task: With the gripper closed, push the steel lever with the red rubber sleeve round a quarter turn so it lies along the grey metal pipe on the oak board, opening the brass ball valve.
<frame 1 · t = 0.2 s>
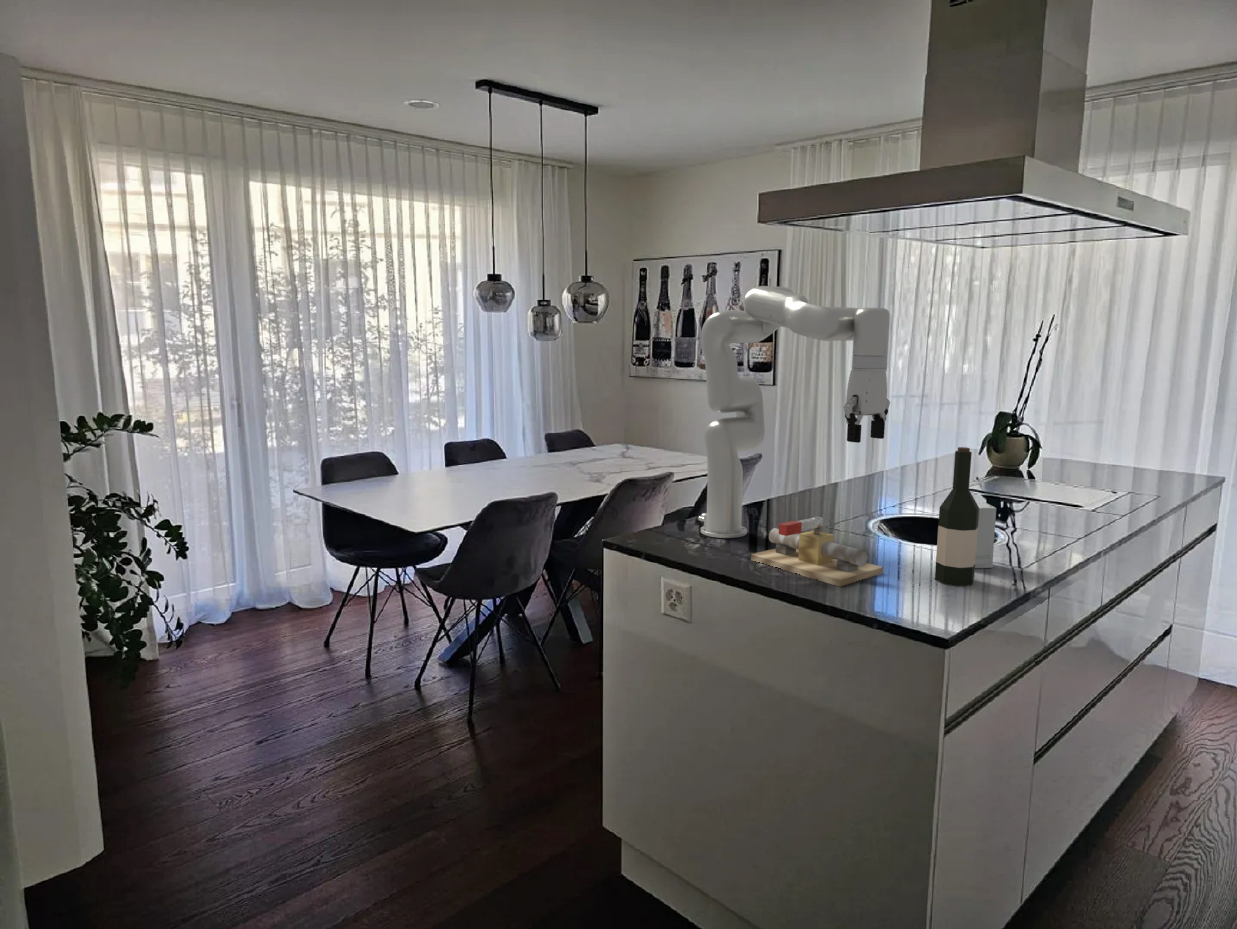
hand: (865, 440, 188), 31 cm above the counter, tool pointing down, fingers open, 9 cm apart
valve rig: (815, 566, 196), on the counter
skincare box: (969, 566, 197), on the counter
wine bottle: (954, 581, 186), on the counter
valve lever: (802, 525, 191), point 11 cm above the counter, hinge at 0.0°
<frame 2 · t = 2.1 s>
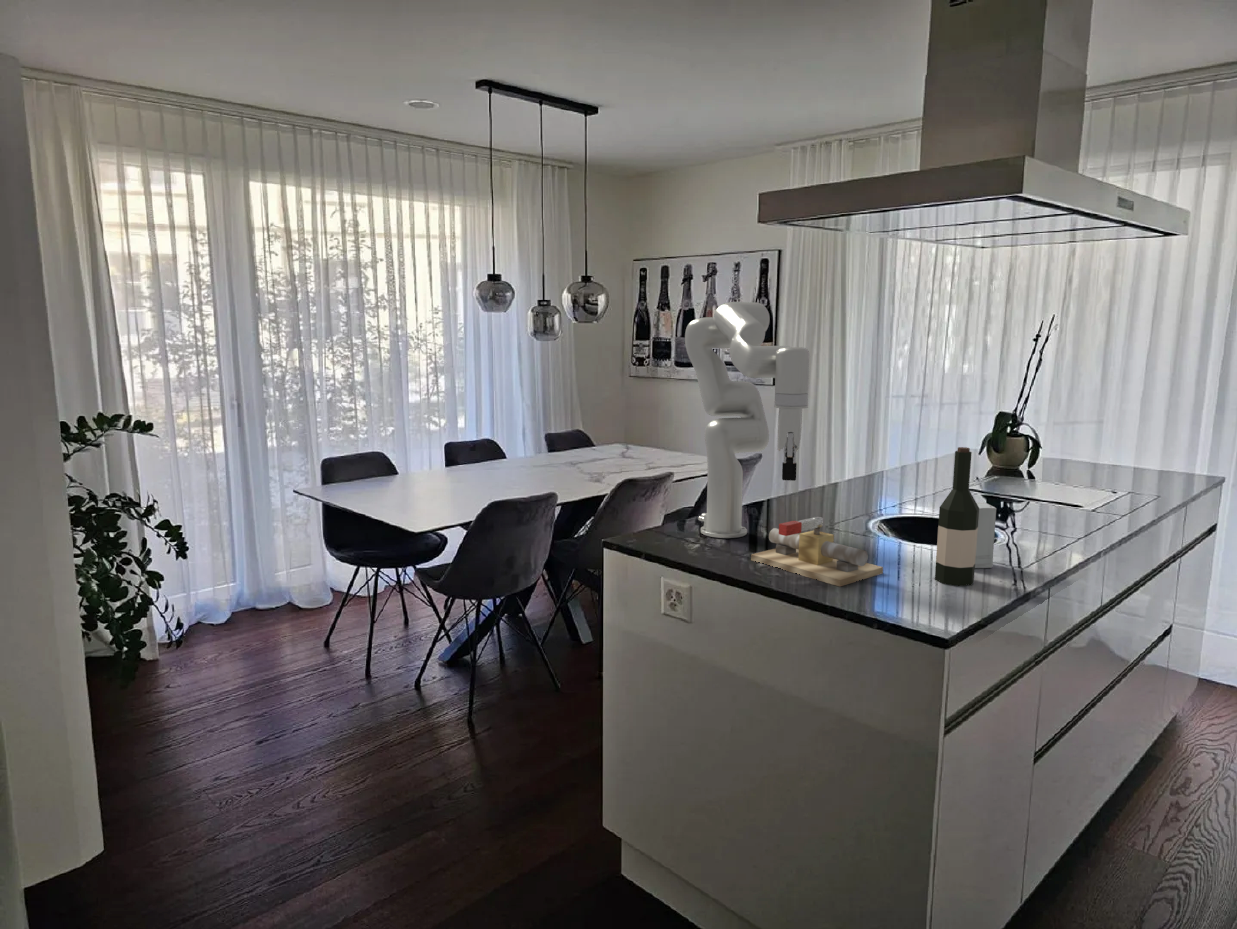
hand: (789, 479, 194), 21 cm above the counter, tool pointing down, fingers closed
nothing on the counter moved.
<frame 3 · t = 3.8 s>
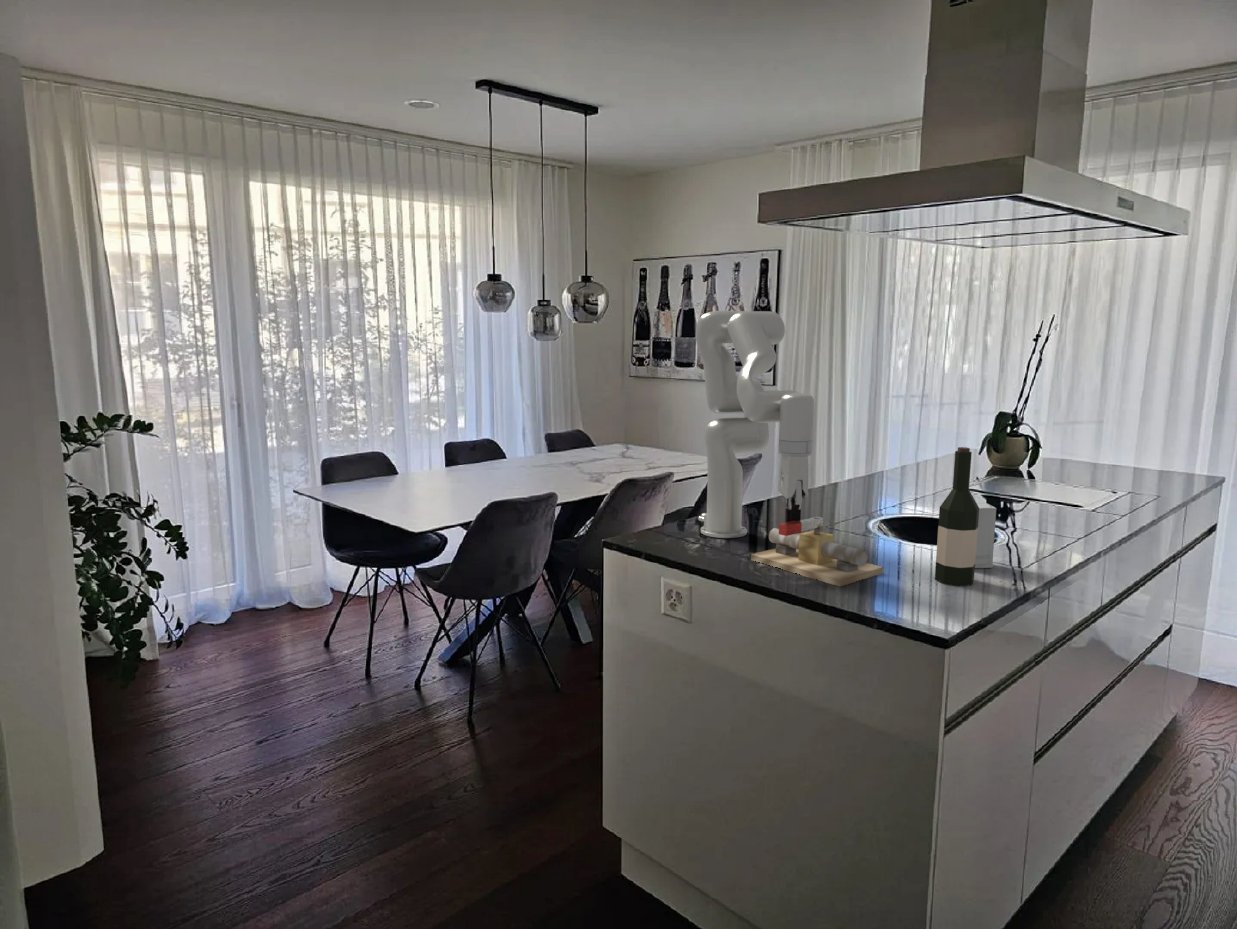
hand: (792, 525, 193), 10 cm above the counter, tool pointing down, fingers closed
valve lever: (802, 525, 191), point 11 cm above the counter, hinge at 0.0°, touching gripper
everything else where it was.
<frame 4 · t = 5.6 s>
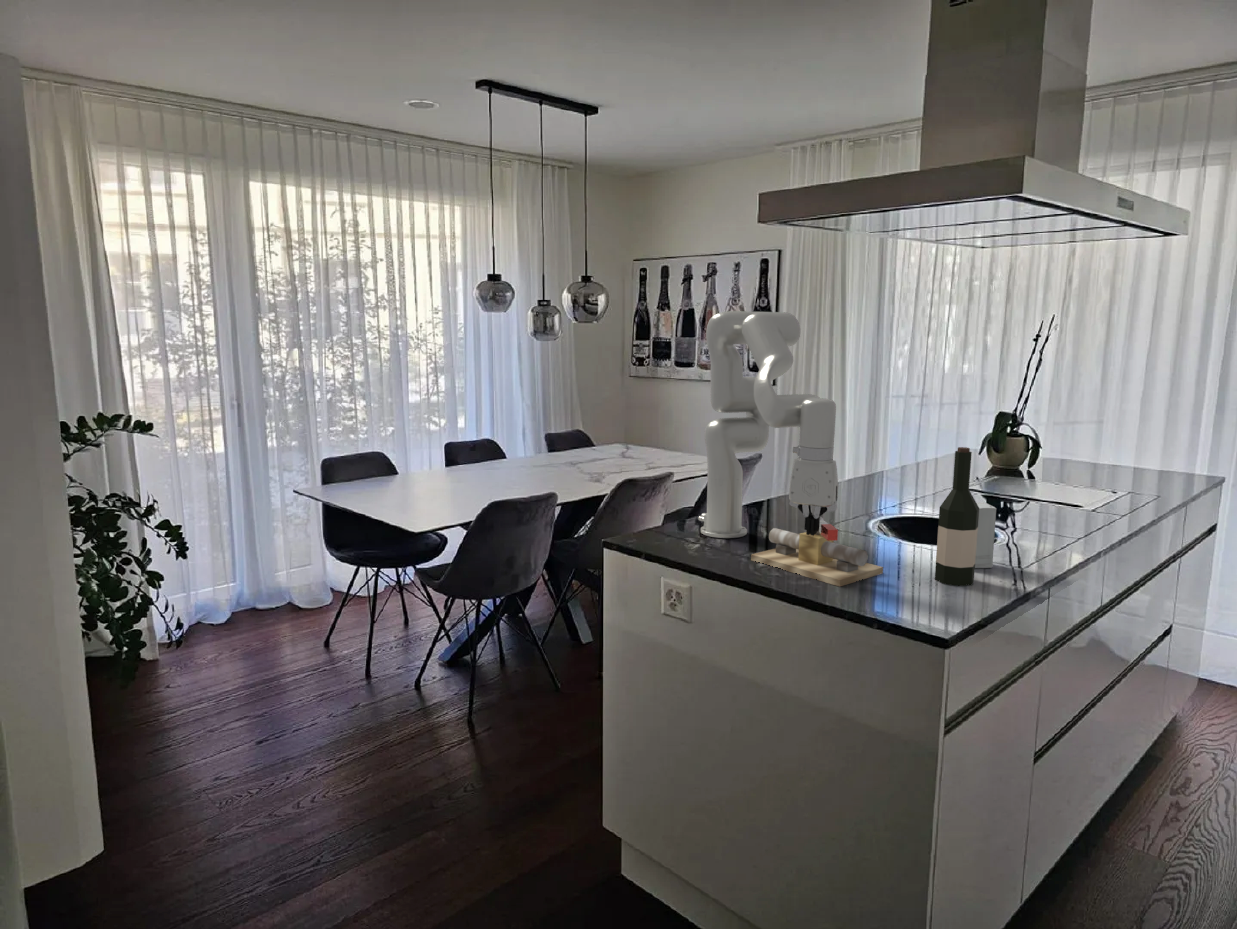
hand: (811, 533, 188), 10 cm above the counter, tool pointing down, fingers closed
valve lever: (823, 527, 189), point 11 cm above the counter, hinge at 54.2°, touching gripper
everything else where it was.
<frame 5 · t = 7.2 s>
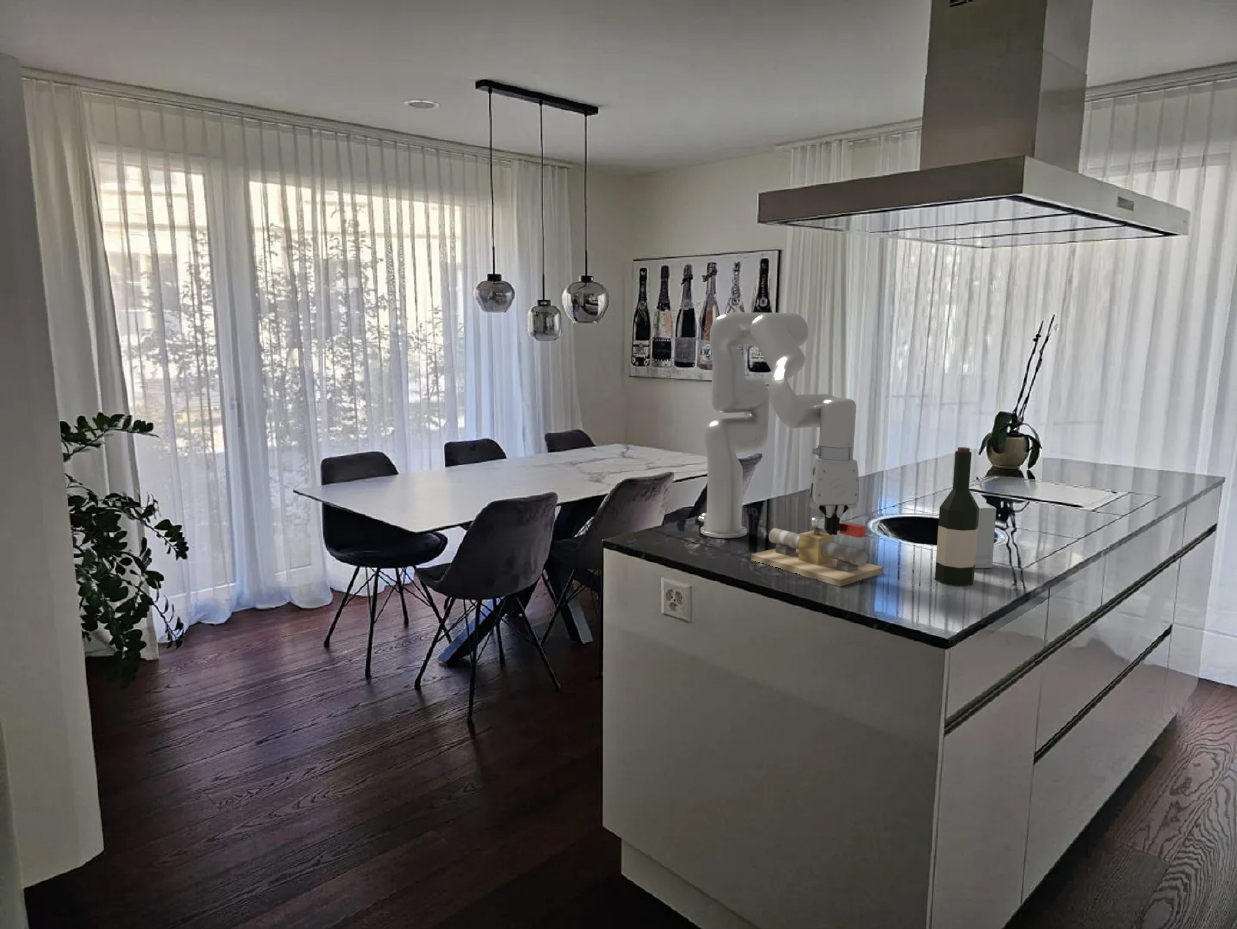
hand: (831, 533, 188), 10 cm above the counter, tool pointing down, fingers closed
valve lever: (836, 526, 190), point 11 cm above the counter, hinge at 92.5°
everything else where it was.
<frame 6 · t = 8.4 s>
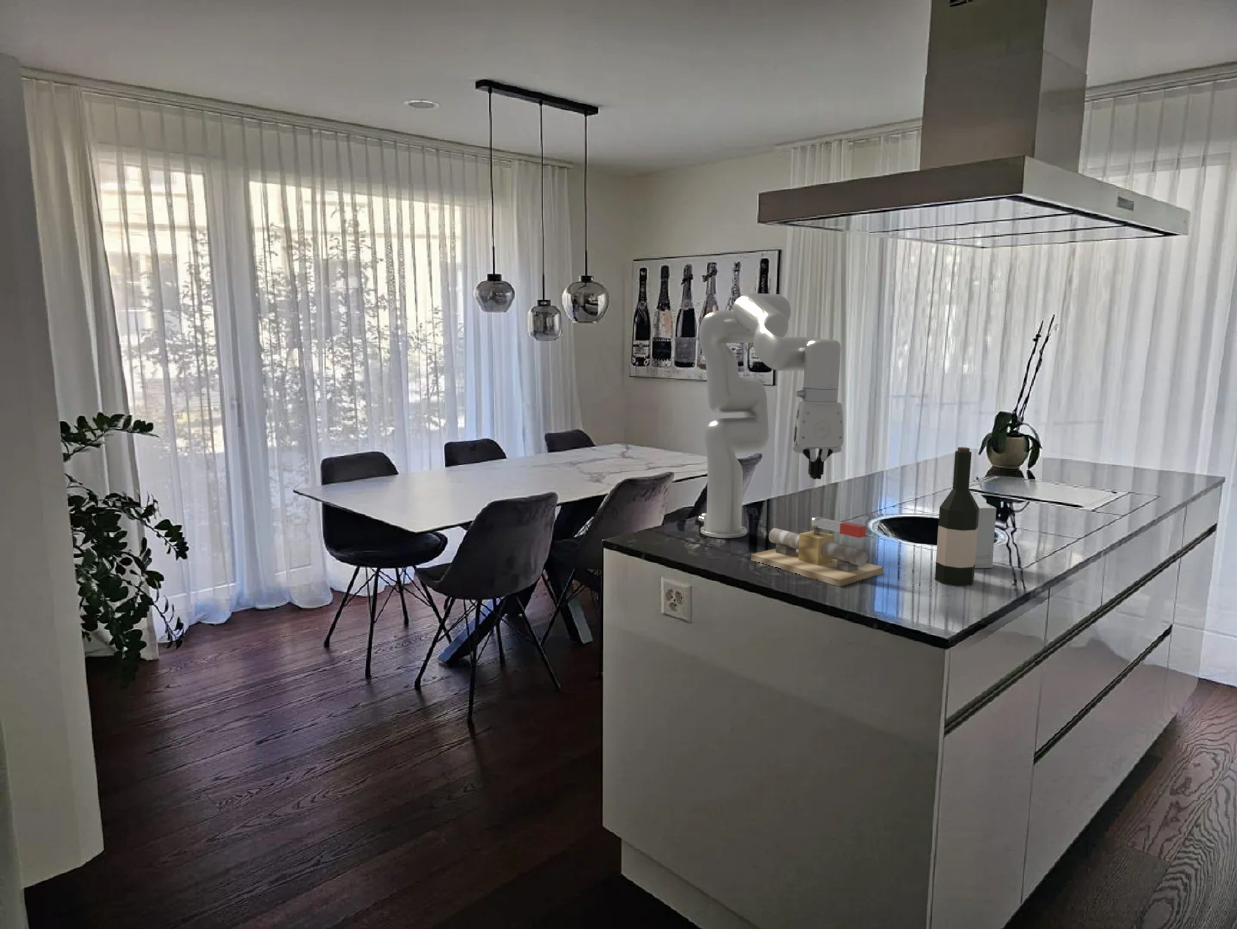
hand: (815, 477, 185), 23 cm above the counter, tool pointing down, fingers closed
nothing on the counter moved.
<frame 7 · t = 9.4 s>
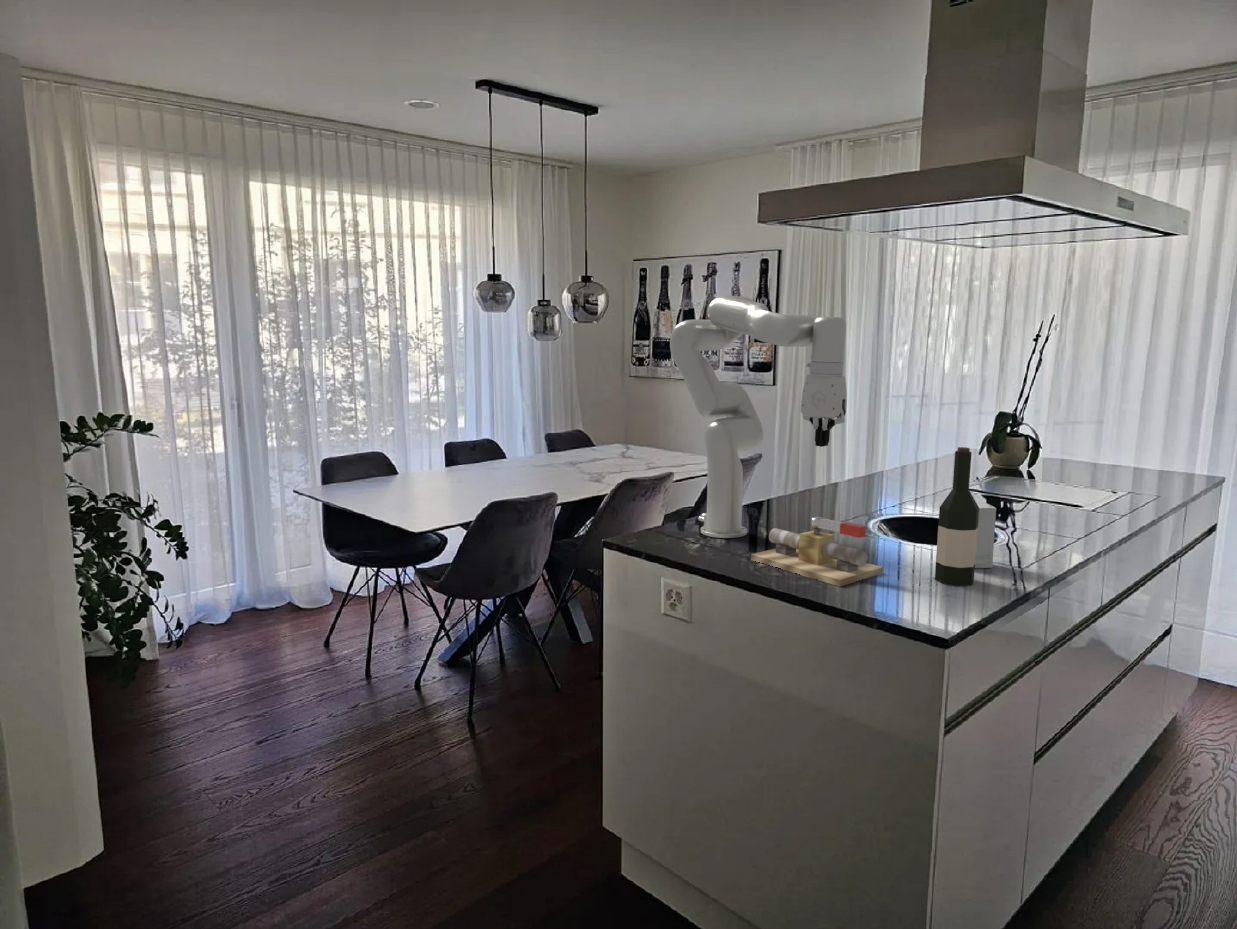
hand: (821, 445, 200), 28 cm above the counter, tool pointing down, fingers closed
nothing on the counter moved.
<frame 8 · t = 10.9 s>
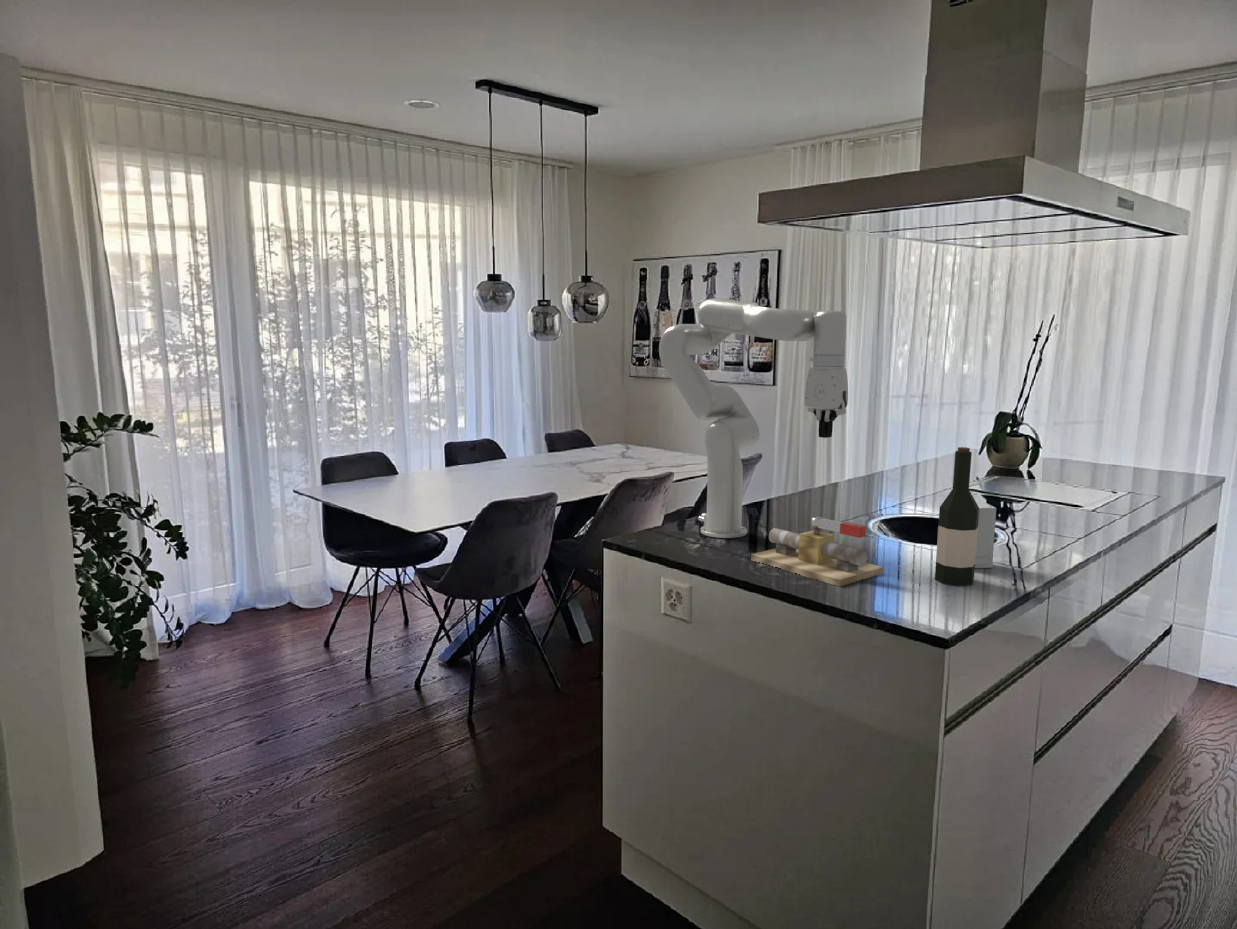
hand: (825, 436, 205), 29 cm above the counter, tool pointing down, fingers closed
nothing on the counter moved.
at the end: valve lever at +93° (first picture: +0°) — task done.
